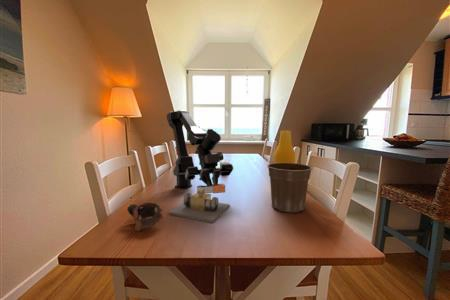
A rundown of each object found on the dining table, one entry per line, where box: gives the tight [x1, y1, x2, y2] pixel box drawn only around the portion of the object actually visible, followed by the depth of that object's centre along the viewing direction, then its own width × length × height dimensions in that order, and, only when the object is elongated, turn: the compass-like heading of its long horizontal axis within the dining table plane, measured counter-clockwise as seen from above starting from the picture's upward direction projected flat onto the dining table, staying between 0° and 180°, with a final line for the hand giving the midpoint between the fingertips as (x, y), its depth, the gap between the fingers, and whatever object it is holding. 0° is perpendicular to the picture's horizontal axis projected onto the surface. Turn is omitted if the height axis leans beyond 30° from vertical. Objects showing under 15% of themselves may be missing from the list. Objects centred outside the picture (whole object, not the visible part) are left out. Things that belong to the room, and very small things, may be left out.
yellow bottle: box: [273, 130, 296, 163], centre depth 96 cm, size 9×9×29 cm
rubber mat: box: [168, 202, 231, 224], centre depth 77 cm, size 17×15×1 cm
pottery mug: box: [127, 201, 163, 232], centre depth 65 cm, size 12×10×8 cm
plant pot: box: [267, 162, 313, 214], centre depth 80 cm, size 16×16×16 cm
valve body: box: [182, 192, 220, 212], centre depth 77 cm, size 12×5×6 cm, turn 68°
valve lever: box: [196, 183, 226, 194], centre depth 77 cm, size 10×3×3 cm, turn 105°
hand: (215, 190), depth 79 cm, fingers closed
